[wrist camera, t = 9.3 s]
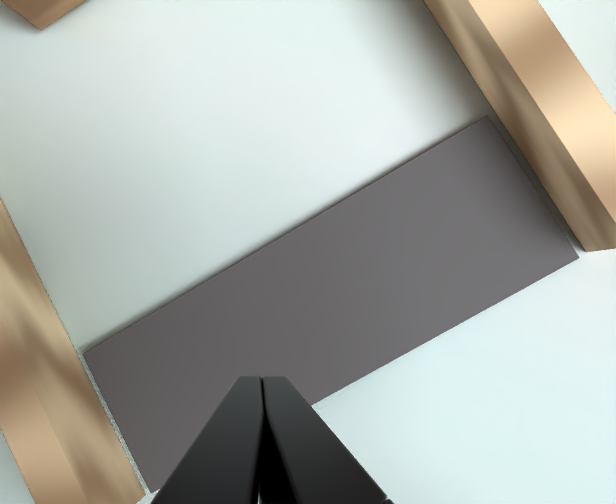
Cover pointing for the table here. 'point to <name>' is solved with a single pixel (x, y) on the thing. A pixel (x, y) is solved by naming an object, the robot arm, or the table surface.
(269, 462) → the robot arm
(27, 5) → the wooden block
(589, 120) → the channel
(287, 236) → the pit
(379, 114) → the table surface
